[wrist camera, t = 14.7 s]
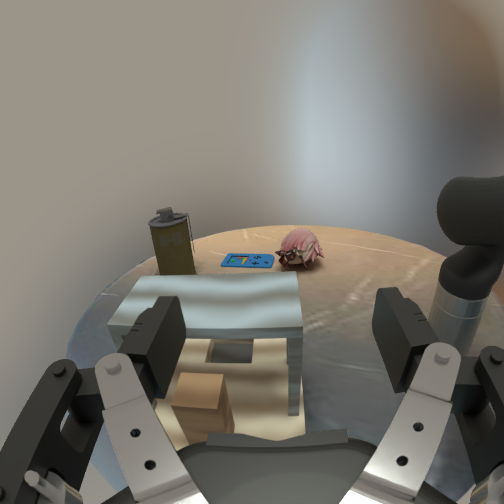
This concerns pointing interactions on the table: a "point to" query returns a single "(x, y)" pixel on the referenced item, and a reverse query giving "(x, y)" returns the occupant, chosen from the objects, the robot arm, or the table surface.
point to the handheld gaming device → (248, 260)
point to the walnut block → (202, 406)
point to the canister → (172, 243)
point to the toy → (299, 248)
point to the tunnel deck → (233, 345)
